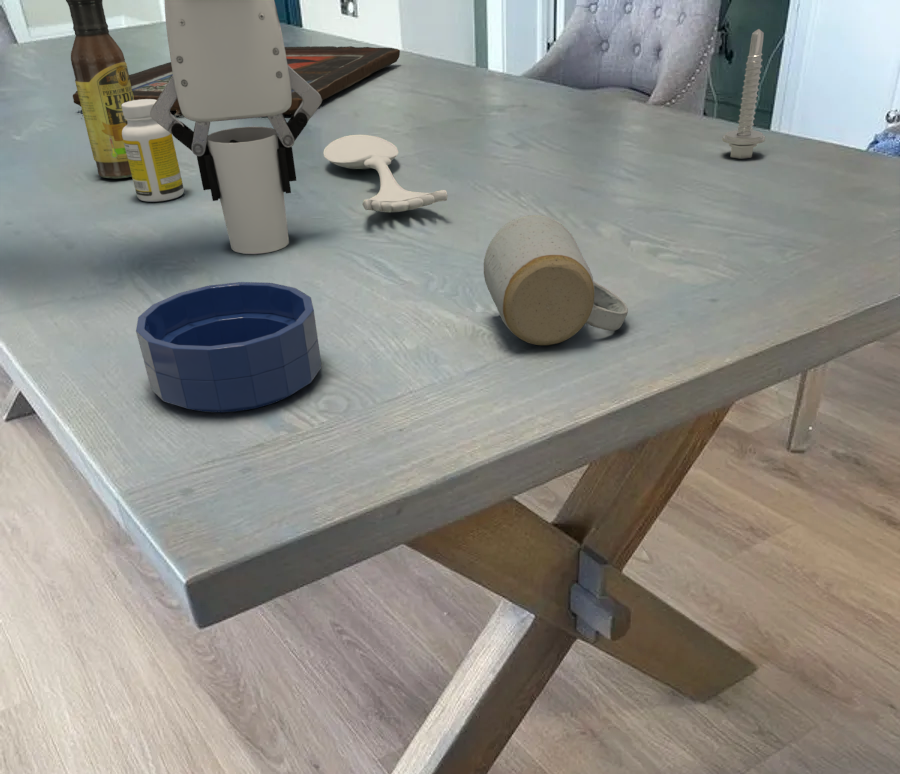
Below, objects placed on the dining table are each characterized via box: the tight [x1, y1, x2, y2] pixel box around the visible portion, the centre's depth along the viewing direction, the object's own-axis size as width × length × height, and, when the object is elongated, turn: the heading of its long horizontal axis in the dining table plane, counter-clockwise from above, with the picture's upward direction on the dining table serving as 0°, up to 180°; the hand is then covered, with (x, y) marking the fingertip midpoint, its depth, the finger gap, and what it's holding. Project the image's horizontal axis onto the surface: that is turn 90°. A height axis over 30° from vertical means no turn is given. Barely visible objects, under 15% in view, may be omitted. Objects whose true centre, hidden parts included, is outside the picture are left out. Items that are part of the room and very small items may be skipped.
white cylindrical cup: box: [207, 126, 290, 255], centre depth 90 cm, size 7×7×10 cm
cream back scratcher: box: [323, 134, 449, 213], centre depth 106 cm, size 9×32×4 cm, turn 15°
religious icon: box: [72, 45, 401, 116], centre depth 159 cm, size 40×45×3 cm
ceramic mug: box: [483, 214, 629, 346], centre depth 71 cm, size 11×8×8 cm
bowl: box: [135, 281, 323, 413], centre depth 67 cm, size 12×12×5 cm
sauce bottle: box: [65, 0, 134, 179], centre depth 111 cm, size 6×6×20 cm
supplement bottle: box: [121, 99, 185, 203], centre depth 106 cm, size 5×5×10 cm
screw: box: [721, 28, 766, 160], centre depth 107 cm, size 13×5×5 cm
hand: (251, 191), depth 90 cm, fingers open, 6 cm apart
